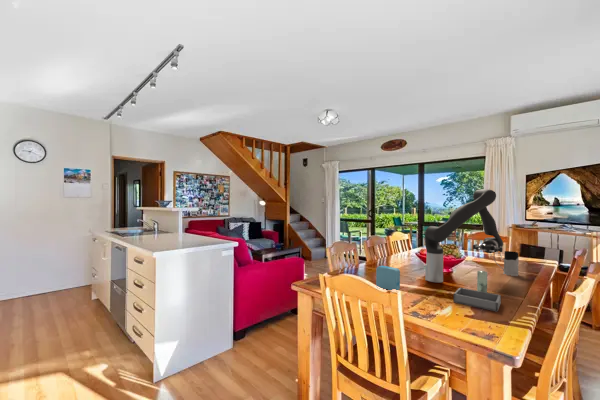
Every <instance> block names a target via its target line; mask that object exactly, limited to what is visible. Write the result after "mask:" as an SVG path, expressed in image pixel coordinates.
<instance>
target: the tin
mask: <svg viewBox="0 0 600 400" xmlns="http://www.w3.org/2000/svg"><path fill="white" fill-rule="evenodd" d="M476 291H481V292H486V293H488V271H485V270H477V275H476Z"/></svg>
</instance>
